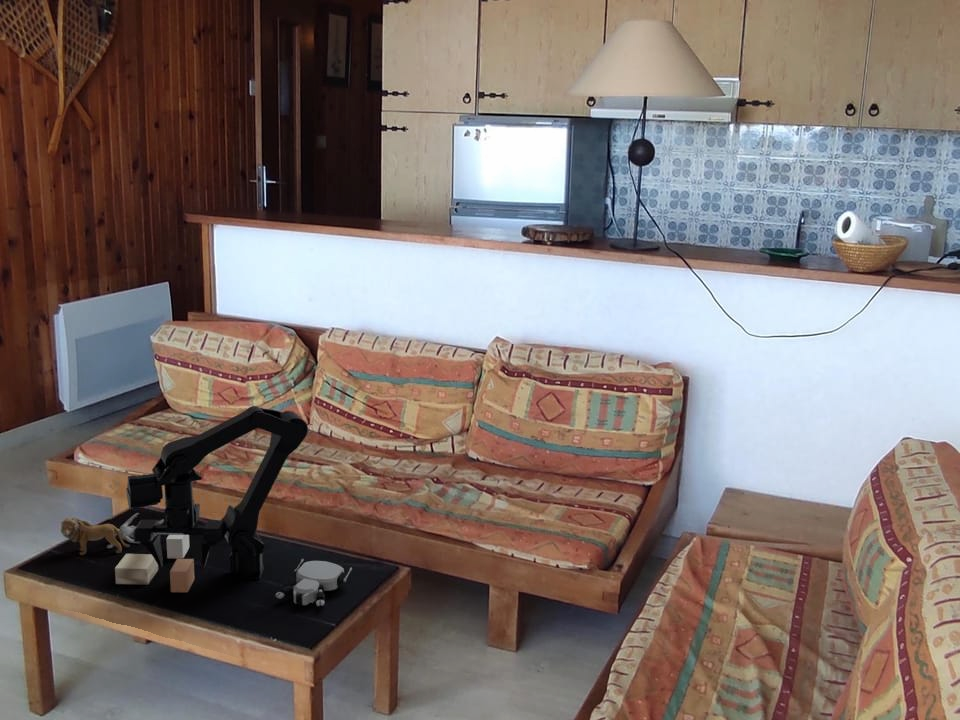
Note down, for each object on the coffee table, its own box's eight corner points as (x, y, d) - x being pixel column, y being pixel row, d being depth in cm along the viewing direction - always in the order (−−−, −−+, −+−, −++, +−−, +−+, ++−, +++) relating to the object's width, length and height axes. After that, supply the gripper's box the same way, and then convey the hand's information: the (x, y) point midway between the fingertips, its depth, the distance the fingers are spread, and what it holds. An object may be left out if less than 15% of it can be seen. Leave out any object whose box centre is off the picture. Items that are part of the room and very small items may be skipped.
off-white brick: (189, 547, 222) (188, 528, 221) (183, 558, 216) (182, 539, 215) (174, 547, 222) (173, 528, 221) (167, 558, 216) (166, 538, 215)
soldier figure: (168, 541, 227) (121, 540, 218) (157, 549, 229) (111, 549, 221) (163, 512, 231) (117, 510, 222) (153, 521, 233) (107, 519, 224)
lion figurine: (61, 559, 214) (58, 523, 211) (64, 549, 219) (61, 514, 216) (129, 552, 218) (127, 517, 216) (130, 543, 223) (128, 508, 221)
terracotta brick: (194, 579, 207) (193, 558, 206) (187, 592, 201) (186, 571, 200) (178, 579, 207) (177, 558, 206) (170, 592, 201) (169, 571, 200)
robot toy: (324, 618, 195) (353, 581, 208) (323, 599, 193) (353, 563, 207) (272, 608, 198) (304, 572, 212) (271, 589, 197) (303, 554, 210)
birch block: (158, 570, 211) (157, 554, 210) (148, 585, 204) (147, 568, 203) (127, 569, 211) (126, 553, 210) (116, 584, 204) (114, 568, 203)
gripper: (230, 486, 207) (233, 550, 211) (145, 485, 206) (149, 549, 210) (220, 506, 197) (222, 573, 201) (130, 505, 196) (134, 573, 199)
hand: (182, 566), depth 203 cm, fingers open, 9 cm apart
